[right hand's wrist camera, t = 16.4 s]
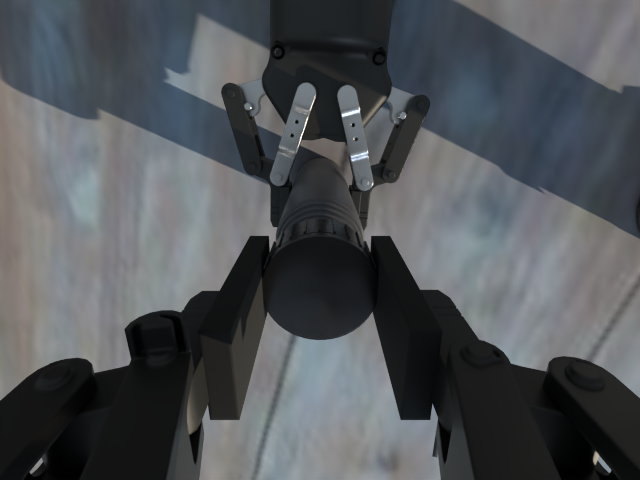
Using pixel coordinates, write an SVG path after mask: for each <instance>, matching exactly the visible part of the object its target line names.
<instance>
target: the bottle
mask: <svg viewBox="0 0 640 480" xmlns="http://www.w3.org/2000/svg"><path fill="white" fill-rule="evenodd" d="M319 218H321V219H330V220H333V219H335V221H337V222H340V223H343V224H347V225H348V226H349V227H350V228H351V229H353V230H354V231H355V232H356V231H357V232H358V233H359V235H360V237H361V238H362V239H363V240H364V231H363V228H362V225H361V222H360V219H359V216H358V214H357V211H356V208H355V205H354V203H353V200H352V197H351V194H350V192H349V189H348V186H347V183H346V181H345V178H344V175H343V173H342V170H341V169H340V167H339V166H338V165H337V164H336V163H335V162H333V161H332V160H330V159H327V158H313V159H310V160H308V161H307V162H305V163H304V164H303V165H302V166H301V167H300V169H299V171H298V173H297V176H296V178H295V181H294V184H293V187H292V189H291V192H290V195H289V198H288V200H287V203H286V206H285V209H284V211H283V214H282V217H281V220H280V222H279V225H278V228H277V233H276V241H277V239H278V238H279V237H280V236H281V233H282V232H285V231H286V230H287V229H289V228H290V227H292V225H293V224H294V225H295V224H298V223H300V222H303V221H305V219H307V220H311V219H319Z"/></svg>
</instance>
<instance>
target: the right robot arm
mask: <svg viewBox="0 0 640 480" xmlns="http://www.w3.org/2000/svg"><path fill="white" fill-rule="evenodd" d="M269 253H270V249H269V236H250V237H249V239H248V241H247V243H246V245H245V246H244V248H243V250H242V252H241V254H240V255H239V257H238V259H237V261H236V263H235V264H234V266H233V268H232V270H231V272H230V273H229V275H228V277H227V279H226V280H225V282H224V284H223V286H222V288H221V289H220V291H202V292H200V293H199V294H197V295H196V296H194V297H193V298H191V299H190V300H189V302H188V303H187V305H186V306H185V308H184V310H183V311H182V312H177V311H173V310H163V311H157V312H152V313H149V314H146V315H143V316H141V317H139V318H137V319H135V320H134V321H132V322H131V323H130V324H129V325H128V326H127V327H126V328H125V334H126V338H127V342H128V347H129V351H130V356H131V362H130V364H129V365H128V366H125V367H121V368H117V369H112V370H107V371H102V372H97V373H94V370H93V366H92V364H91V363H90V362H89V361H88V360H87V359H81V358H71V359H64V360H59V361H56V362H53V363H50V364H49V365H47V366H45V367H42V368H40V369H38V370H37V371H35V372H34V373H33V374H31V375H30V376H28V377H27V378H26V379H25V380H23V381H22V382H21V383H20V384H19V385H18V386H17V387H16V388H14V389H13V390H12V391H11V392H10V393H9V394H8V395H6V396H5V397H4V398H3V399H2V400H1V401H0V480H199V476H200V467H201V458H202V449H203V440H204V430H203V423H202V418H203V416H204V413H205V410H206V408H207V405H208V408H209V415H210V420H239V419H240V416H241V412H242V408H243V404H244V400H245V396H246V393H247V389H248V385H249V381H250V377H251V373H252V370H253V366H254V362H255V358H256V354H257V350H258V347H259V343H260V339H261V335H262V331H263V327H264V324H265V320H266V316H267V312H268V311H267V309H266V307H265V304H264V302H263V290H262V277H263V273H264V270H263V268H264V265H265V262H266V260H267V257H268V254H269ZM371 253H372V256H373V259H374V262H375V264H376V267H377V270H376V272H377V276H378V293H377V302H376V305H375V307H374V309H373V315H374V319H375V323H376V326H377V330H378V334H379V338H380V342H381V346H382V350H383V353H384V357H385V361H386V365H387V369H388V373H389V376H390V380H391V384H392V388H393V392H394V396H395V399H396V403H397V407H398V411H399V415H400V419H401V420H430V416H431V409H432V403H433V405H434V408H435V411H436V413H437V416H438V423H437V430H436V436H435V443H434V449H433V457H437V455H438V457H439V466H440V475H441V480H640V398H639V397H638V396H636V395H635V394H634V393H633V392H632V391H631V390H630V389H628V388H627V387H626V386H625V385H624V384H623V383H622V382H620V381H619V380H618V379H617V378H616V377H615V376H613V375H612V374H611V373H609V372H608V371H606V370H605V369H603V368H602V367H600V366H597V365H595V364H593V363H591V362H589V361H586V360H582V359H579V358H575V357H565V356H562V357H557V358H553V359H552V360H551V361H550V362H549V364H548V367H547V371H546V372H545V371H540V370H536V369H531V368H526V367H521V366H518V365H514V364H511V363H510V361H509V359H508V358H507V356H506V355H505V354H504V352H503V351H501V350H500V349H499V348H497V347H496V346H494V345H492V344H490V343H487V342H485V341H482V340H479V339H478V338H477V336H476V335H475V333H474V332H473V330H472V329H471V328H470V326H469V325H468V323H467V322H466V320H465V319H464V317H463V316H461V313H460V312H459V310H458V309H456V306H455V304H454V303H453V302H452V300H451V299H450V298H449V297H448V296H446V295H445V294H444V293H442V292H441V291H439V290H420V289H419V287H418V285H417V284H416V282H415V280H414V278H413V276H412V275H411V273H410V271H409V269H408V267H407V266H406V264H405V262H404V260H403V259H402V257H401V255H400V253H399V251H398V250H397V248H396V246H395V244H394V242H393V241H392V239H391V237H390V236H371ZM599 456H600V457H601V458H602V459H603V460H604V461H605V463H606V464H607V465H608V466H609V467H610V469H611V470H612V471H611V473H608V472H607V471H606V470H605V469H604V468H603V467H602V465H601V464H600V463H599V462H598V458H599ZM41 457H42V460H43V463H42V464H41V465H40V466H39V468H38V469H37V470H36V471H35V472H33V473H32V474H30V470H31V469H32V468H33V467H34V466H35V464H36V463H37V462H38V461H39V460H40V458H41Z"/></svg>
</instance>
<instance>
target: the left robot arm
mask: <svg viewBox="0 0 640 480" xmlns="http://www.w3.org/2000/svg"><path fill="white" fill-rule="evenodd" d="M392 5H393V0H270V57H269V61H268V64H267V67H266V69H265V70H264V72H263V75H262V79H259V80H255V81H251V82H247V83H243V84H239V85H236V84H233V83H227V84H225V85H224V86H223V88H222V91H221V93H222V97H223V101H224V104H225V107H226V111H227V114H228V117H229V120H230V124H231V127H232V130H233V133H234V137H235V140H236V143H237V147H238V150H239V153H240V156H241V160H242V163H243V166H244V169H245V171H246V172H247V173H248V174H250V175H256V176H259V177H261V178H263V179H265V180H267V181H268V183H269V184H270V187H271V223H272V225H273V227H278V225H279V222H280V220H281V217H282V214H283V211H284V209H285V206H286V203H287V200H288V198H289V195H290V192H291V189H292V182H289V175H290V172H291V169H292V166H293V163H294V160H295V157H296V155H297V152H298V149H299V146H300V143H301V141H302V140H315V139H320V138H327V139H330V140H333V141H336V142H345V145H346V149H347V153H348V157H349V161H350V166H351V170H352V175H353V182H352V185H349V192H350V194H351V197H352V200H353V203H354V205H355V208H356V211H357V214H358V216H359V219H360V222H361V225H362V228H363V231H364V230H365V228H366V226H367V220H368V210H369V200H370V193H371V191H372V189H373V188H374V187H375V186H377V185H380V184H383V183H394V182H396V181H397V180H398V179H399V177H400V174H401V172H402V170H403V167H404V165H405V163H406V160H407V158H408V156H409V153H410V151H411V149H412V147H413V144H414V142H415V140H416V137H417V135H418V133H419V130H420V128H421V126H422V123H423V121H424V119H425V116H426V114H427V112H428V109H429V107H430V101H429V99H428V97H426V96H425V95H412V94H410V93H407V92H405V91H402V90H400V89H397V88H395V87H392V83H391V79H390V76H389V74H388V70H387V52H388V42H389V33H390V24H391V15H392ZM264 95H267V96H268V98H269V99H270V101H271V103H272V104H273V106H274V107H275V109H276V110H277V112H278V113H279V115H280V117H281V118H282V120H283V121H284V123H285V124H286V126H285V129H284V132H283V135H282V138H281V141H280V144H279V148H278V152H277V155H276V158H275V161H273V160H271V159H268V158H266V157H265V154H264V151H263V147H262V144H261V140H260V136H259V133H258V129H257V126H256V122H255V119H254V116H255V115H257V114H258V113H259V112H260V110H261V104H260V102H261V99H262V97H263V96H264ZM385 102H387V103H388V104H389V106H390V113H389V118H390V121H391V122H392V123H394V124H395V125H394V128H393V130H392V133H391V135H390V138H389V140H388V142H387V145H386V147H385V150H384V152H383V155H382V157H381V160H380V162H379V164H376V165H372V166H370V162H369V157H368V148H367V143H366V138H365V134H364V127H365V126H366V125H367V124H368V123H369V121H370V120H371V119H372V118H373V116H374V115H375V114H376V113H377V112H378V110H379V109H380V108H381V107H382V105H383V104H384V103H385ZM637 220H638V226H639V230H640V204H639V208H638V214H637Z"/></svg>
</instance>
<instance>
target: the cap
mask: <svg viewBox="0 0 640 480" xmlns="http://www.w3.org/2000/svg"><path fill="white" fill-rule="evenodd" d="M263 270H264V273H263V277H262V290H263V302H264V304H265V307H266V309H267V311H268V312H269V314H270V316H271V317H272V318H273V319H274V321H275V322H276V323H277V324H278V325H280V326H281V327H282V328H284V329H285V330H287V331H288V332H290V333H292V334H294V335H297V336H299V337H303V338H307V339H313V340H327V339H334V338H338V337H341V336H344V335H346V334H348V333H350V332H352V331H354V330H355V329H357V328H358V327H359V326H361V325H362V324H363V323H364V322H365V321H366V320H367V318H368V317H369V316H370V314H371V313H372V311H373V309H374V307H375V305H376V302H377V293H378V276H377V272H376V270H377V267H376V264H375V262H374V259H373V256H372V253H371V252H370V251H369V248H368V245H367V242H366V241H364V240H363V239H362V238H361V237H360V235H359V233H358V232H357V231H356V232H355V231H354V230H353V229H351V228H350V227H349V226H348V225H347V224H343V223H340V222H337V221H335V219H333V220H330V219H321V218H319V219H311V220H307V219H305V221H303V222H300V223H298V224H295V225H294V224H293V225H292V227H290V228H289V229H287V230H286V231H285V232H282V233H281V236H280V237H279V238H278V239H277V241H276V242H275V241H274V243H273V245H272V248H271V251H270V253H269V254H268V257H267V260H266V262H265V265H264V268H263Z"/></svg>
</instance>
